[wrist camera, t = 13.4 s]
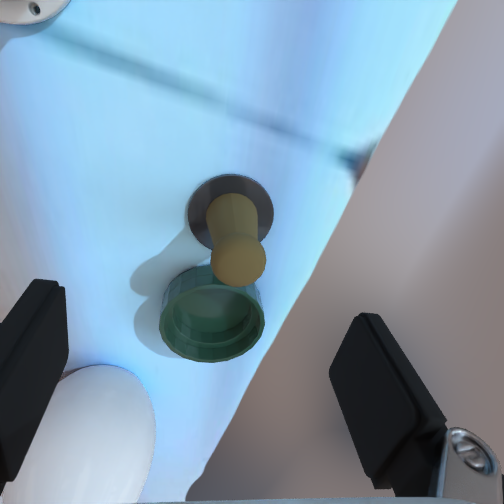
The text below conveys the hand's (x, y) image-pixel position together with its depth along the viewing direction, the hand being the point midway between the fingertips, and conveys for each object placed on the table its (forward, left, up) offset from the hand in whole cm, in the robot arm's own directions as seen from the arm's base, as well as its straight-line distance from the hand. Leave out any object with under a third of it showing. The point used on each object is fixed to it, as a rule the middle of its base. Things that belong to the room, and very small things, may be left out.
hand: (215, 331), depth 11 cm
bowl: (+4, -22, -28) cm, 36 cm away
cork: (+4, -9, -28) cm, 30 cm away
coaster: (+4, -9, -28) cm, 30 cm away
